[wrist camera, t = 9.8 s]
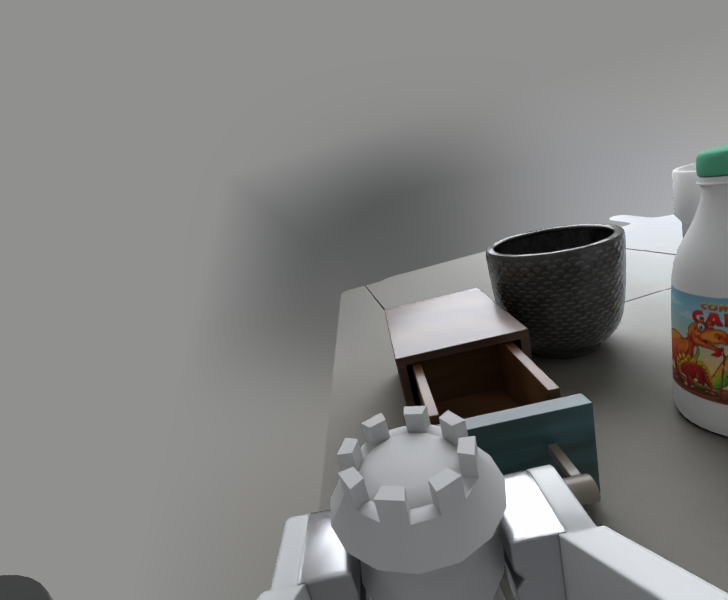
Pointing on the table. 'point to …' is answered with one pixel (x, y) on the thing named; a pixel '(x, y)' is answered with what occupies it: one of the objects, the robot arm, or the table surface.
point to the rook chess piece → (421, 510)
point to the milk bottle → (703, 301)
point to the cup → (685, 194)
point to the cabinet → (448, 331)
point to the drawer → (514, 413)
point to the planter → (562, 285)
